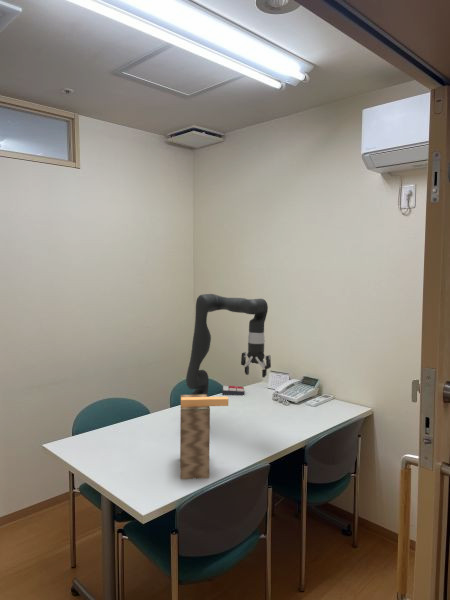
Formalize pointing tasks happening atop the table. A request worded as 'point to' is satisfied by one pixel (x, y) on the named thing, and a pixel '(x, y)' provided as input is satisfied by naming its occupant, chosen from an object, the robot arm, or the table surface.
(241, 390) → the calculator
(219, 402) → the rod
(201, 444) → the stand
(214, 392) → the table surface
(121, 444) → the table surface
